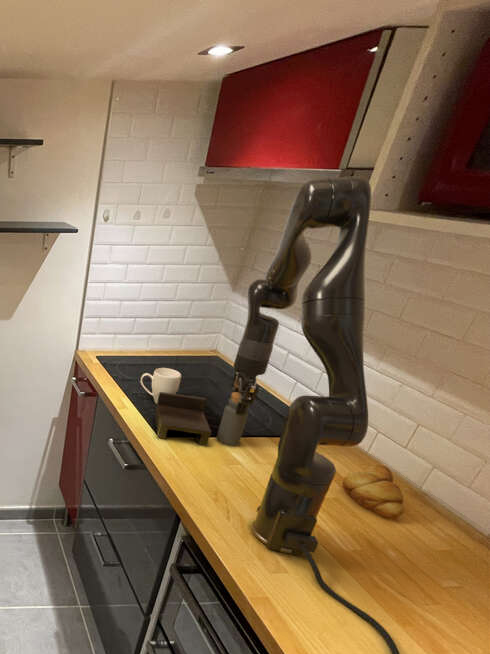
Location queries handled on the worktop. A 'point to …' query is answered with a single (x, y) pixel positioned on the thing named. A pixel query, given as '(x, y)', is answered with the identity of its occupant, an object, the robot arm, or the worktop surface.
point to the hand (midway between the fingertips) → (237, 409)
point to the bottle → (232, 423)
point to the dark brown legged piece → (181, 416)
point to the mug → (163, 382)
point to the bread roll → (375, 490)
